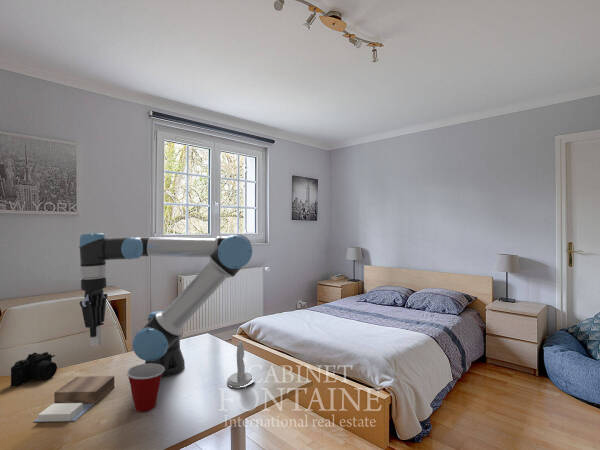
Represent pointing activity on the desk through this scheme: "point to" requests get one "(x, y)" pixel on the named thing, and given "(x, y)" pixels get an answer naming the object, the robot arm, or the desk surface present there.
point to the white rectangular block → (60, 412)
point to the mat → (85, 408)
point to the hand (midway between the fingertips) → (95, 345)
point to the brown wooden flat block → (85, 390)
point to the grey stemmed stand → (239, 370)
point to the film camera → (33, 368)
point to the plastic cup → (145, 385)
